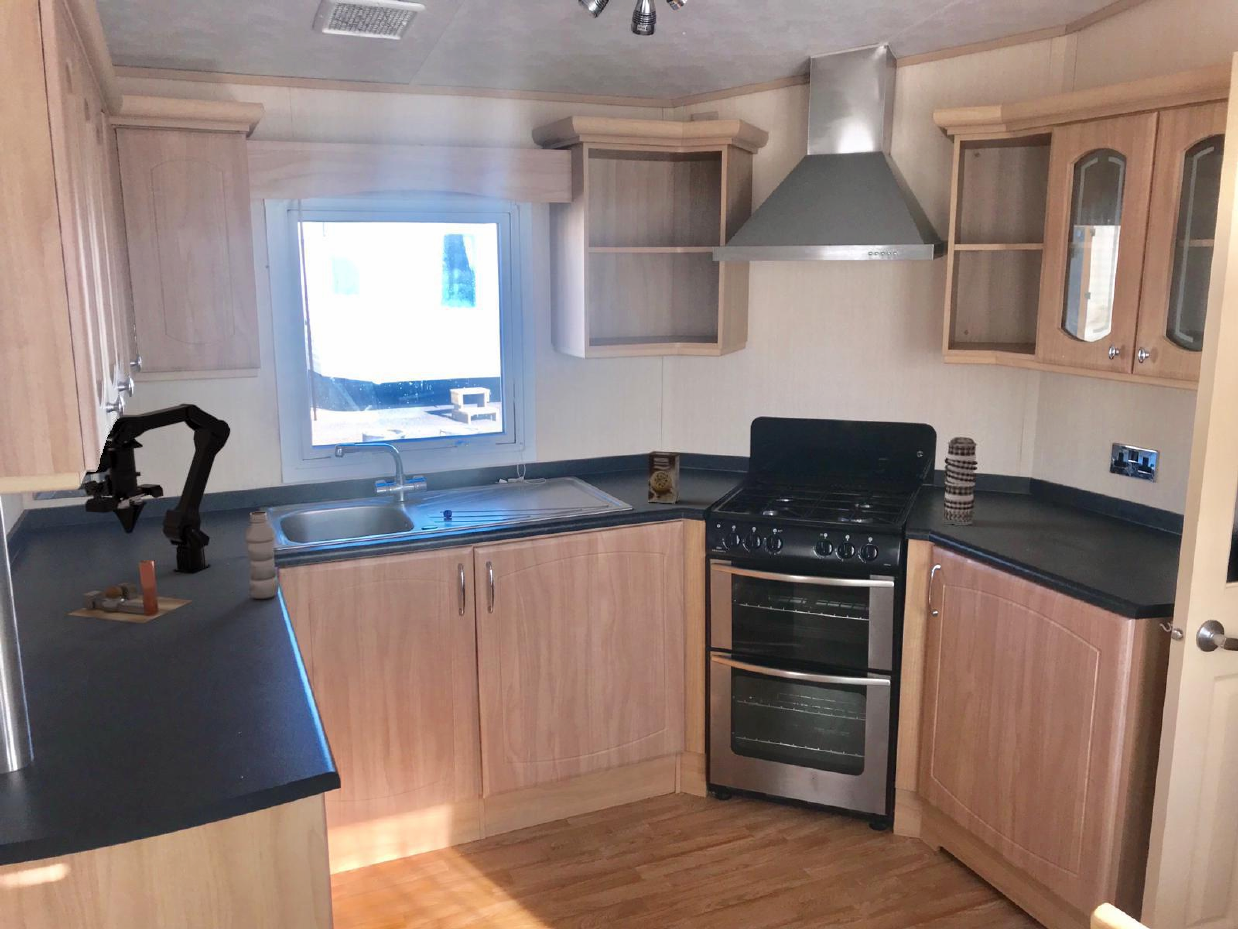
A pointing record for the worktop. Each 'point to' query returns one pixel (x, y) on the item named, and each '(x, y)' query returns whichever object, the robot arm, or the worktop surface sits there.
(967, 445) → the decorative candle
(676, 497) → the cookie box
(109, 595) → the walnut
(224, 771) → the worktop surface
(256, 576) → the plastic bottle
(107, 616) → the wooden board
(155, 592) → the lever
